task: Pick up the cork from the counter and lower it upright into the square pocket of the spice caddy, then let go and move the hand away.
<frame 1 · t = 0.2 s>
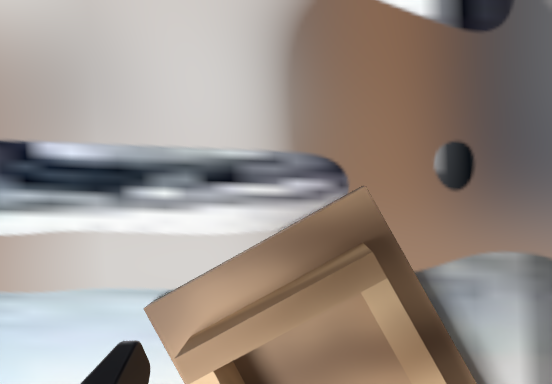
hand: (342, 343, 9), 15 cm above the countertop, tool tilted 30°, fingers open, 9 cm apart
spice caddy: (322, 367, 24), on the countertop
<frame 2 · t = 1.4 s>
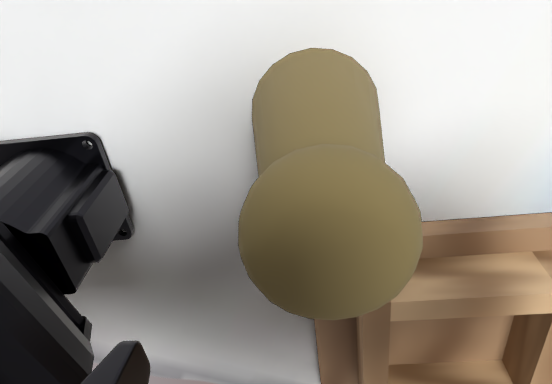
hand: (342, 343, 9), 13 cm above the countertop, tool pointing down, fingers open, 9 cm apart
cork: (314, 111, 20), on the countertop
spice caddy: (439, 307, 27), on the countertop
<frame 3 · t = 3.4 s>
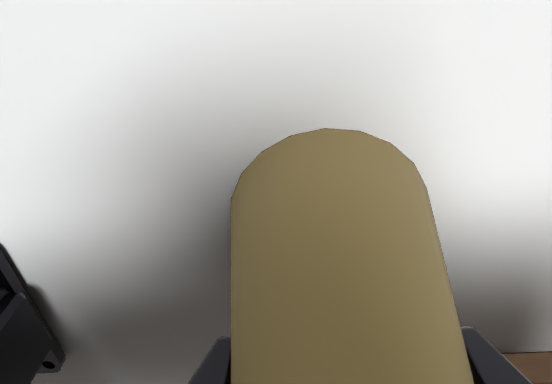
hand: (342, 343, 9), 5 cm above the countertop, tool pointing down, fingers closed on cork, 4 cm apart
cork: (327, 215, 13), on the countertop, touching gripper
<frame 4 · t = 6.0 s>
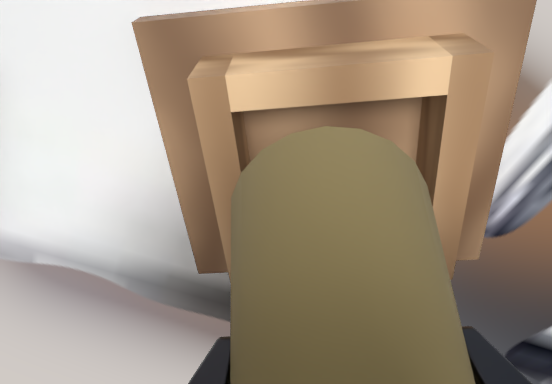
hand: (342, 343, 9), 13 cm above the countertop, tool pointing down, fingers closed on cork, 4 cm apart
cork: (327, 213, 13), point 8 cm above the countertop, touching gripper
spice caddy: (330, 148, 21), on the countertop
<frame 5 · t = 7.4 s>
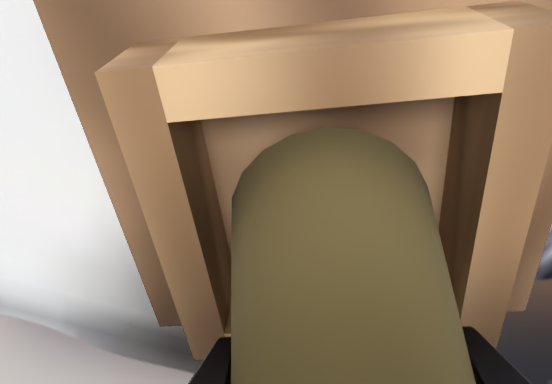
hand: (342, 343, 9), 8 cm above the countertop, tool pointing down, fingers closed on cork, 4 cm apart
cork: (328, 214, 13), point 3 cm above the countertop, touching gripper
spice caddy: (325, 167, 16), on the countertop
when the fingers open (7 cm above the countertop, at t = 8.4 s): cork drops 1 cm, resting on spice caddy.
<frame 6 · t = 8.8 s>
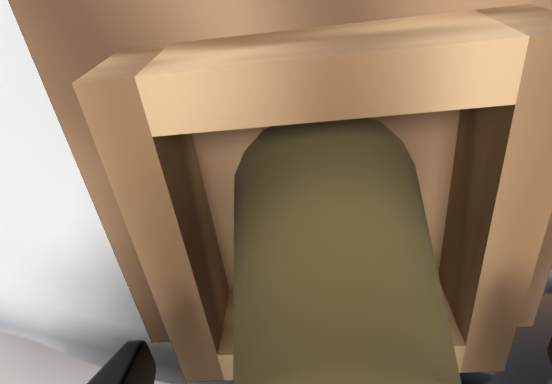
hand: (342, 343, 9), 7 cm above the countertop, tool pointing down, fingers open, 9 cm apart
cork: (323, 191, 14), point 1 cm above the countertop, touching spice caddy
spice caddy: (324, 178, 15), on the countertop
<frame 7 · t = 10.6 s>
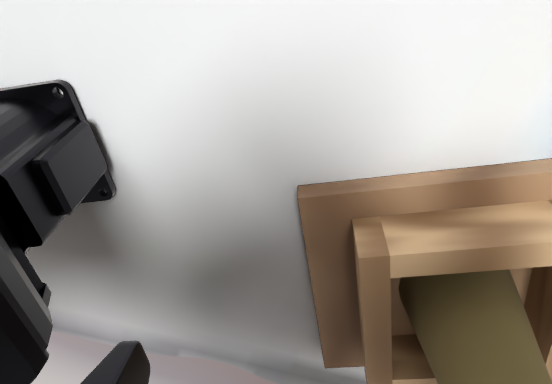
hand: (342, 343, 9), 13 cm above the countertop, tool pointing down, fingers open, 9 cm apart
cork: (452, 282, 24), point 1 cm above the countertop, touching spice caddy
spice caddy: (448, 271, 24), on the countertop
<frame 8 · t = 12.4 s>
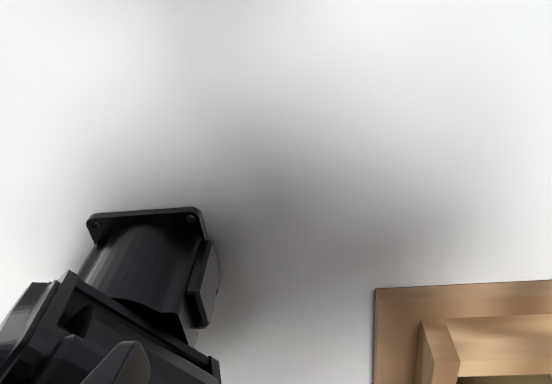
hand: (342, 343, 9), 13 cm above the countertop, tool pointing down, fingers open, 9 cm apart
cork: (494, 366, 28), point 1 cm above the countertop, touching spice caddy
spice caddy: (489, 354, 29), on the countertop
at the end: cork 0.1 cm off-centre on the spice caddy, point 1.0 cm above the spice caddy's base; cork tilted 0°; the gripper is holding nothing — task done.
